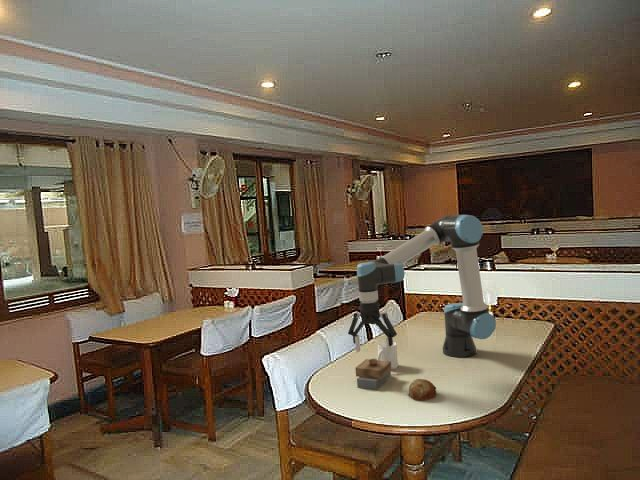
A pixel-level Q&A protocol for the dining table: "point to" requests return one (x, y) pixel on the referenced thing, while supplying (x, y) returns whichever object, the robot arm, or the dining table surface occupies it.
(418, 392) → the bread roll
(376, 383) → the grey flat block
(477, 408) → the dining table surface
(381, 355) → the mug
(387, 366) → the lid
